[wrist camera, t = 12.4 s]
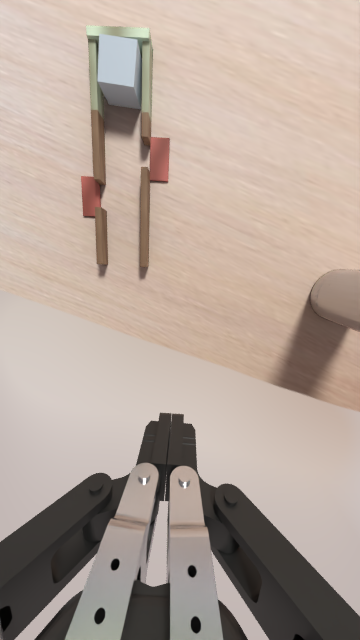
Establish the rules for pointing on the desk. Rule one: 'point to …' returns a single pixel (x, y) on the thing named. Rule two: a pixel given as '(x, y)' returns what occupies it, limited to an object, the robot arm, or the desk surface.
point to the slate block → (120, 71)
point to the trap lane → (92, 184)
